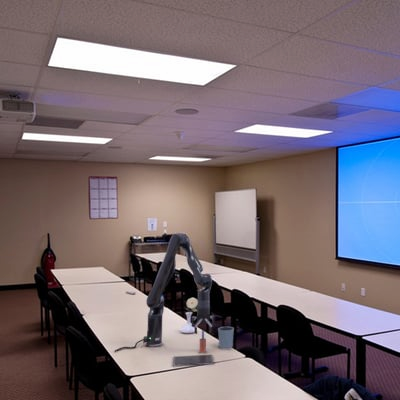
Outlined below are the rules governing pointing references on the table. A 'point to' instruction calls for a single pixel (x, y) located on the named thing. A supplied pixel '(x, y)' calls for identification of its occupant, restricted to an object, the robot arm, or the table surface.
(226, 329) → the blue-grey tapered bin
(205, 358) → the tablet
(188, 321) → the flower in vase
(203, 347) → the pen pot
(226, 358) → the table surface
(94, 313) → the table surface
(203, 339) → the stylus
